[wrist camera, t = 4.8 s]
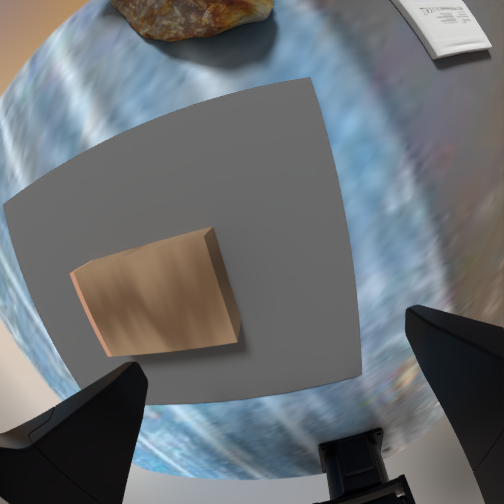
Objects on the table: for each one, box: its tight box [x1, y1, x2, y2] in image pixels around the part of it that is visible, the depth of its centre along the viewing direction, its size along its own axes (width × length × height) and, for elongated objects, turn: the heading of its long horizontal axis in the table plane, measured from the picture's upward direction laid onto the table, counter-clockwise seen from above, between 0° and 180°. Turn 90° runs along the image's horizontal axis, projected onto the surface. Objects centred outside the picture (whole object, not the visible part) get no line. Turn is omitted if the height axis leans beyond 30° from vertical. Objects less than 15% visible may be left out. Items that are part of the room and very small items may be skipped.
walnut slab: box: [69, 226, 241, 357], centre depth 15 cm, size 6×2×9 cm
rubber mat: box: [3, 77, 362, 404], centre depth 17 cm, size 20×25×1 cm
